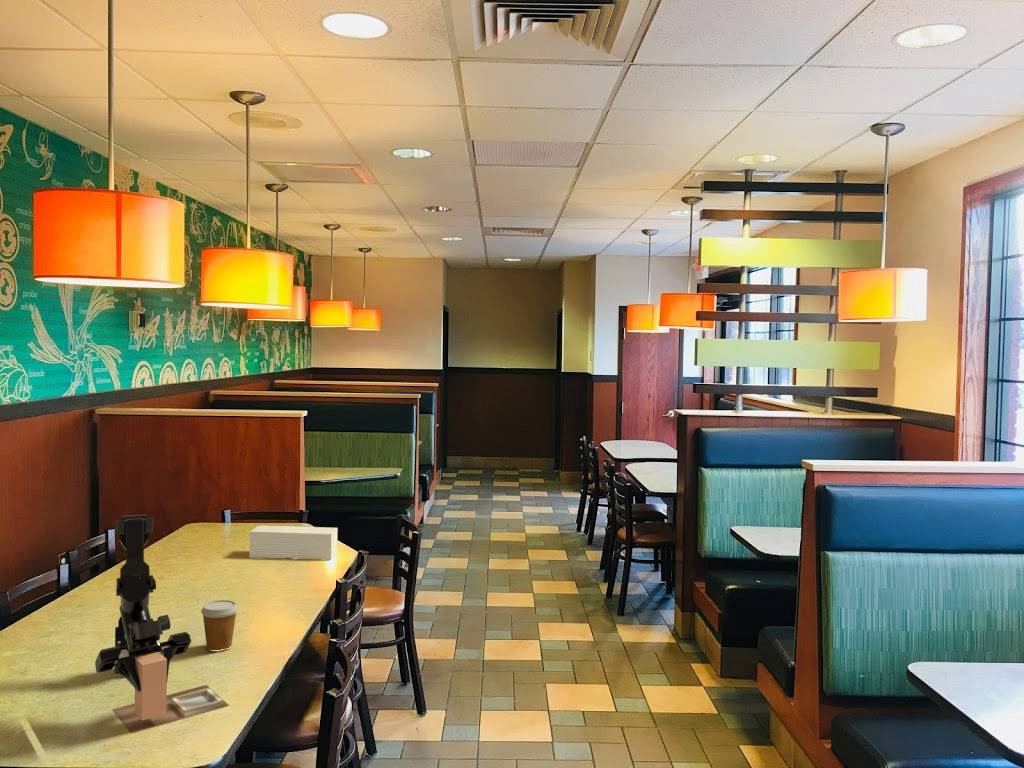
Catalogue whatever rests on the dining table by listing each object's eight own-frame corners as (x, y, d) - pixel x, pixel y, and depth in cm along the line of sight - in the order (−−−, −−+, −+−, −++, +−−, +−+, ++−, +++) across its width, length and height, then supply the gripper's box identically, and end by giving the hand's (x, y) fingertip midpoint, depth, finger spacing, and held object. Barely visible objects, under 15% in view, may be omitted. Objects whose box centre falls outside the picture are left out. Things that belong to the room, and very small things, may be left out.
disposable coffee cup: (241, 641, 220) (242, 599, 220) (230, 654, 211) (231, 610, 210) (207, 641, 220) (208, 599, 220) (195, 654, 211) (195, 610, 210)
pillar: (134, 711, 170) (135, 657, 170) (158, 705, 174) (159, 652, 173) (141, 720, 167) (142, 665, 166) (166, 713, 170) (166, 659, 169)
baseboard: (112, 713, 176) (112, 704, 175) (206, 688, 190) (206, 680, 190) (131, 737, 165) (131, 727, 165) (229, 709, 179) (229, 700, 179)
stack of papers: (337, 554, 317) (337, 527, 317) (331, 561, 307) (331, 533, 306) (258, 551, 317) (258, 525, 317) (249, 558, 307) (249, 531, 306)
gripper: (99, 613, 166) (113, 681, 158) (189, 596, 178) (206, 659, 171) (89, 638, 172) (102, 706, 164) (176, 620, 184) (192, 682, 177)
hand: (152, 687), depth 169 cm, fingers closed on pillar, 5 cm apart
